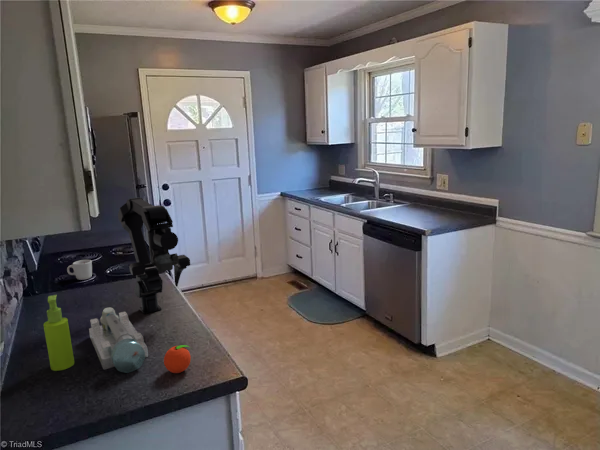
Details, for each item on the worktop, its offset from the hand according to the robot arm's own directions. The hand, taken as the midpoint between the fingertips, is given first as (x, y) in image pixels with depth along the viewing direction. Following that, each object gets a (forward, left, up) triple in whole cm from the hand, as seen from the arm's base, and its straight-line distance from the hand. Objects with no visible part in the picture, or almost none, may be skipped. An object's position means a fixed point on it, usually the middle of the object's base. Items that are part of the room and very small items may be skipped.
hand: (162, 289), depth 145 cm
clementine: (+35, -6, -12) cm, 37 cm away
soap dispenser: (+11, -32, -12) cm, 36 cm away
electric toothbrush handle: (+9, -17, -9) cm, 21 cm away
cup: (-76, -17, -12) cm, 79 cm away
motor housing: (+12, -17, -12) cm, 24 cm away
